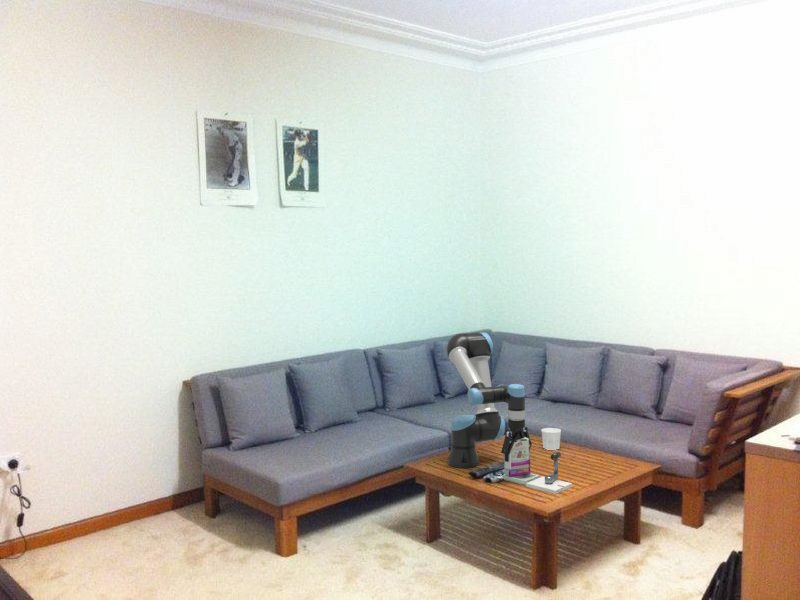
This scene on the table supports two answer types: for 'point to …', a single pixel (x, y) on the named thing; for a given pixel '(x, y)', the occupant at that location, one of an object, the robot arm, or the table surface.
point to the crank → (554, 476)
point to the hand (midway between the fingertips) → (516, 465)
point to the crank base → (549, 485)
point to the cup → (551, 438)
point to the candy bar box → (519, 458)
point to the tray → (521, 478)
